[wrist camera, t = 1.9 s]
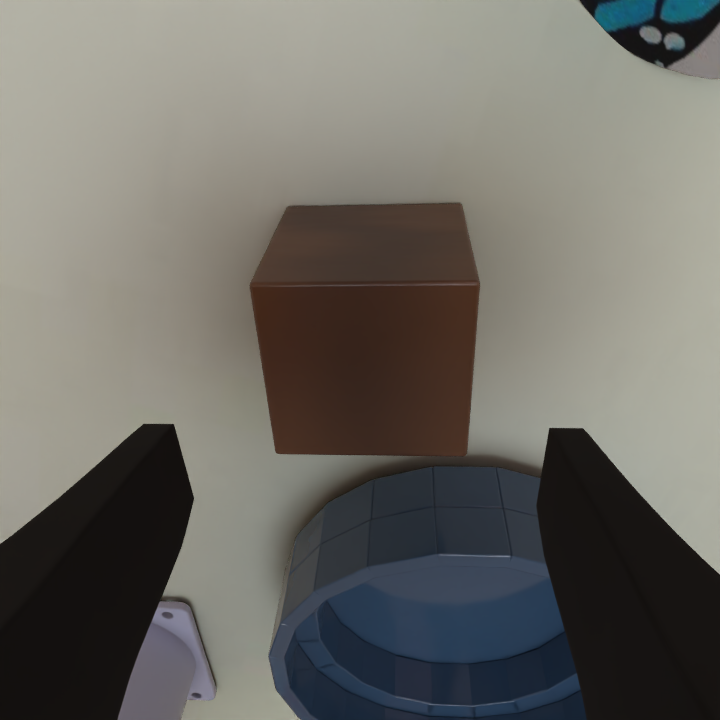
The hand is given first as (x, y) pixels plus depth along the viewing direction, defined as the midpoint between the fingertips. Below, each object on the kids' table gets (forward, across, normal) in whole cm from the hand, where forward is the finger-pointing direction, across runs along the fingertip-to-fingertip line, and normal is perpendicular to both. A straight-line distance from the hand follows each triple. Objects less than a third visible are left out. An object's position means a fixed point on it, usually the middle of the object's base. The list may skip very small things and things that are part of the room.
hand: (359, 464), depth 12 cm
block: (+8, 0, 0) cm, 8 cm away
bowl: (+8, -3, +14) cm, 16 cm away
